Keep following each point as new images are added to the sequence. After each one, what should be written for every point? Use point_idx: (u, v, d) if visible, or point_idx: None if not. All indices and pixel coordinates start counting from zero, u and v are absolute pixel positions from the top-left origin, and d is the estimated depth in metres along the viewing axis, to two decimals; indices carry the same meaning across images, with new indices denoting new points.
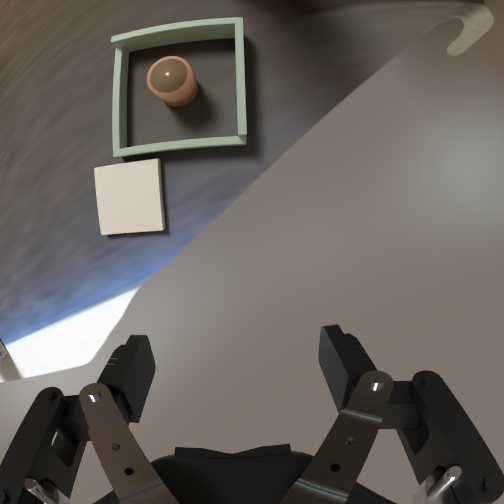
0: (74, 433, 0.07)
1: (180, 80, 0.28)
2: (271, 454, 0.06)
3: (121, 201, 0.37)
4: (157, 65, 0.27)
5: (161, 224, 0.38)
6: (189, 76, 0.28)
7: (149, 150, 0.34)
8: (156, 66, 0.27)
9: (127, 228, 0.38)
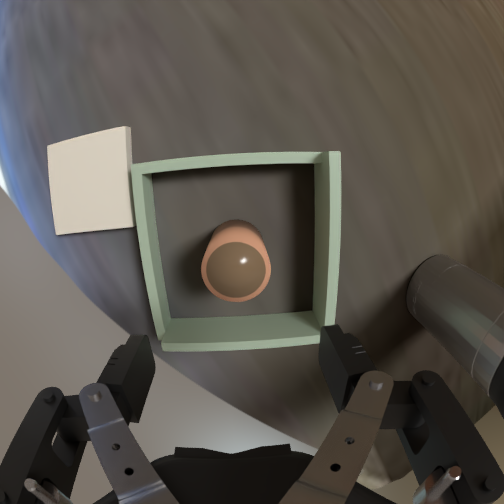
0: (74, 433, 0.07)
1: (225, 289, 0.22)
2: (271, 454, 0.06)
3: (81, 175, 0.24)
4: (256, 252, 0.22)
5: (61, 233, 0.26)
6: (231, 300, 0.23)
7: (137, 222, 0.24)
8: (254, 251, 0.22)
9: (53, 186, 0.24)
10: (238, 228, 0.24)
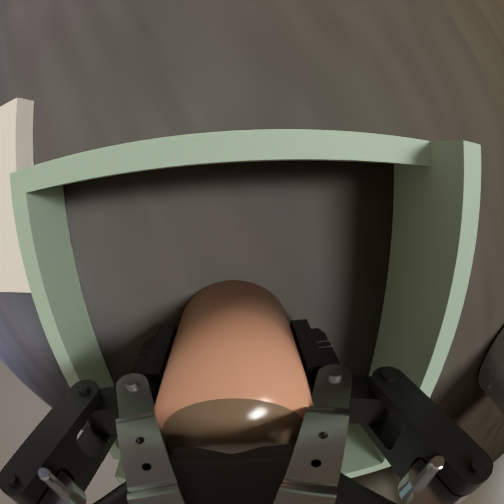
0: (108, 426, 0.08)
1: None
2: (271, 454, 0.06)
3: None
4: (289, 415, 0.07)
5: None
6: None
7: (33, 293, 0.10)
8: (284, 413, 0.07)
9: None
10: (239, 328, 0.09)
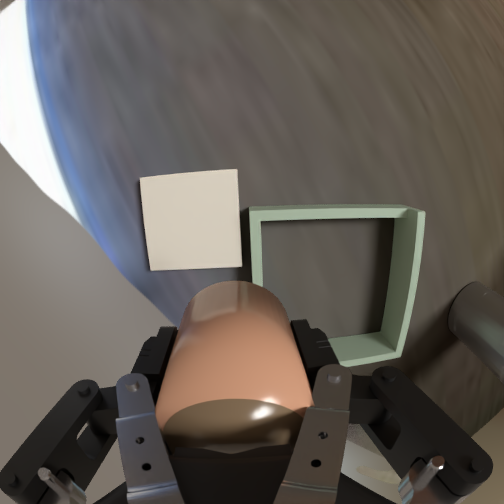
0: (108, 426, 0.08)
1: None
2: (271, 454, 0.06)
3: (185, 214, 0.28)
4: (290, 415, 0.07)
5: (157, 268, 0.30)
6: None
7: (253, 265, 0.28)
8: (285, 414, 0.07)
9: (149, 221, 0.28)
10: (240, 328, 0.09)
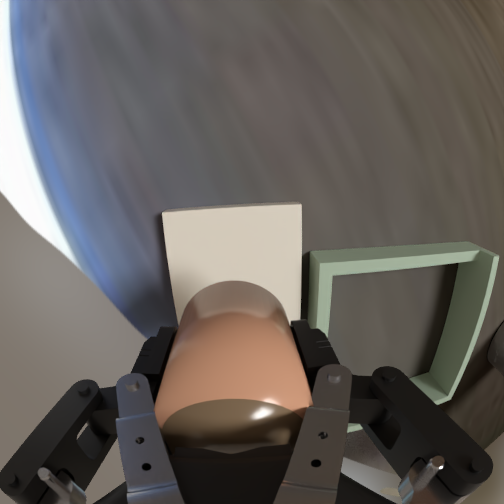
0: (108, 426, 0.08)
1: None
2: (271, 454, 0.06)
3: (228, 264, 0.21)
4: (289, 416, 0.07)
5: None
6: None
7: (318, 327, 0.21)
8: (284, 413, 0.07)
9: (176, 272, 0.21)
10: (239, 328, 0.09)
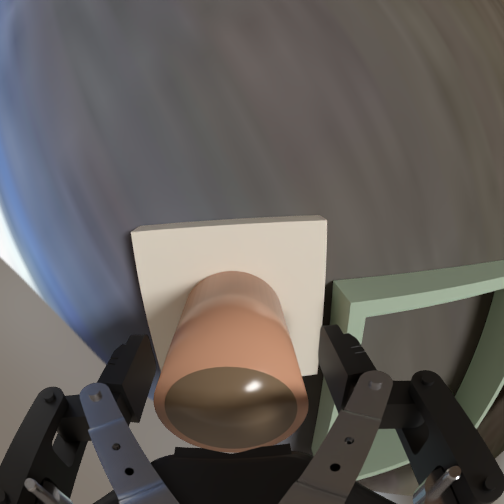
0: (74, 433, 0.07)
1: (208, 438, 0.09)
2: (271, 454, 0.06)
3: None
4: (278, 386, 0.08)
5: None
6: (222, 450, 0.09)
7: None
8: (274, 384, 0.08)
9: (155, 312, 0.15)
10: (236, 310, 0.11)
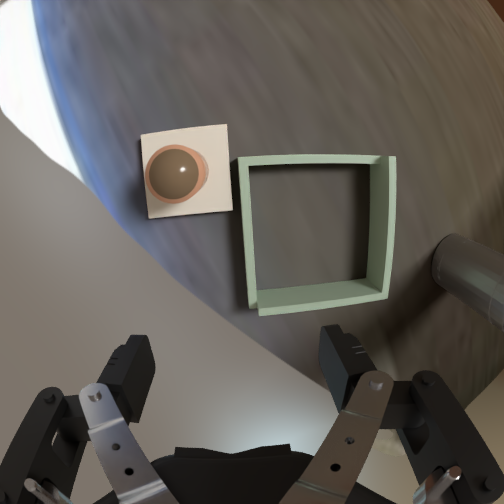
0: (74, 433, 0.07)
1: (164, 191, 0.24)
2: (271, 454, 0.06)
3: None
4: (190, 157, 0.24)
5: (155, 216, 0.32)
6: (170, 202, 0.25)
7: (242, 205, 0.31)
8: (188, 156, 0.24)
9: None
10: None
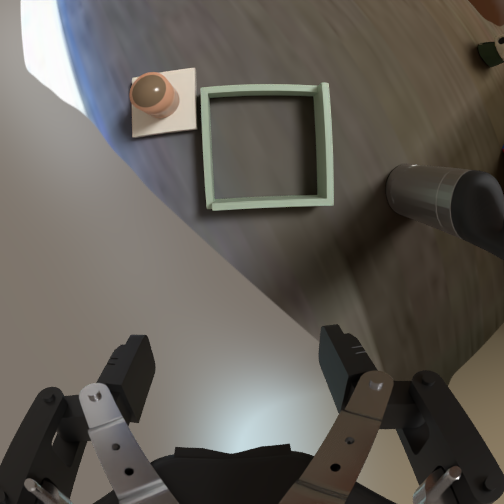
0: (74, 433, 0.07)
1: (141, 102, 0.30)
2: (271, 454, 0.06)
3: None
4: (161, 79, 0.29)
5: (137, 135, 0.38)
6: (144, 109, 0.31)
7: (202, 122, 0.37)
8: (159, 79, 0.29)
9: None
10: None
